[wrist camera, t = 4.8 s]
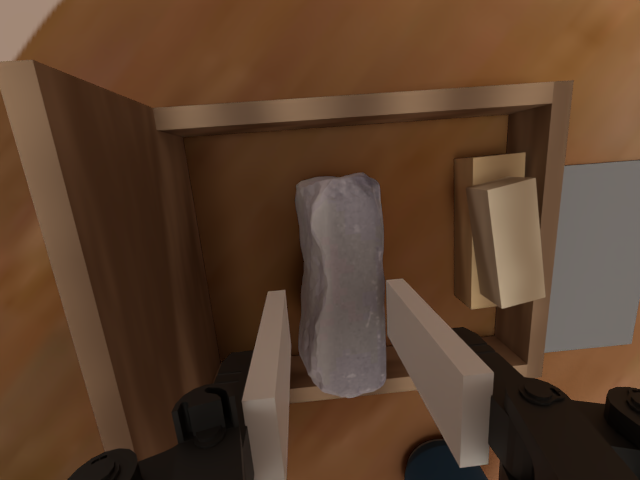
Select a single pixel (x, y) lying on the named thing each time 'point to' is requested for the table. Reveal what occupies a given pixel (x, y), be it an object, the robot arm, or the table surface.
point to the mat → (596, 258)
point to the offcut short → (507, 240)
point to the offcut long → (464, 255)
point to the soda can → (438, 464)
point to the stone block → (342, 283)
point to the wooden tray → (183, 236)
